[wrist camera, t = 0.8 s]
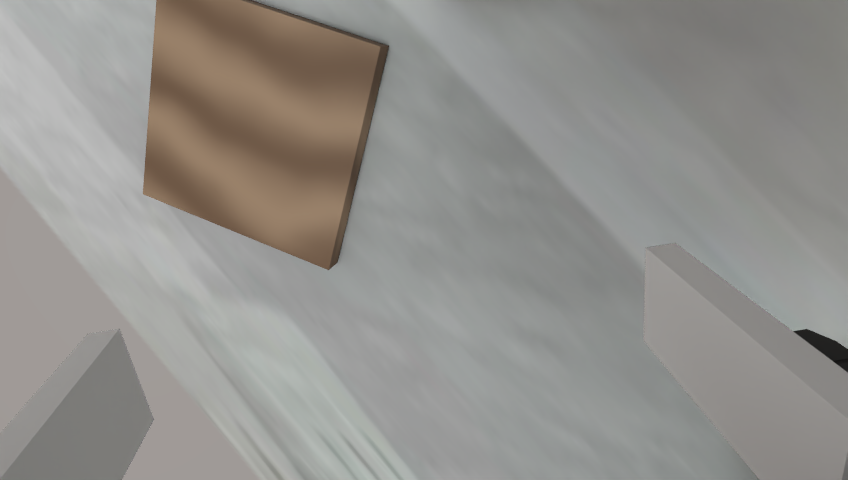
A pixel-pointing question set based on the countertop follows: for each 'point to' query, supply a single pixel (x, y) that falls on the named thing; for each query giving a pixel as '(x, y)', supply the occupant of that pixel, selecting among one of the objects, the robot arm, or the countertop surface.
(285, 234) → the walnut board
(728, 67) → the countertop surface
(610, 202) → the countertop surface
